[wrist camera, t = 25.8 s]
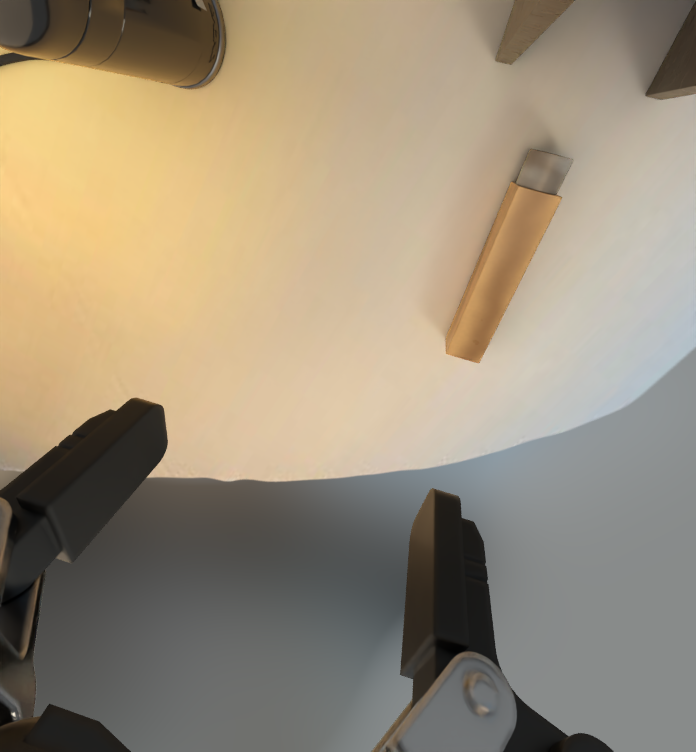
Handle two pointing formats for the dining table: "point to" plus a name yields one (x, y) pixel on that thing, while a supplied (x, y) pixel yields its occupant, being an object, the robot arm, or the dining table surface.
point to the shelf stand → (546, 3)
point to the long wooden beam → (507, 253)
